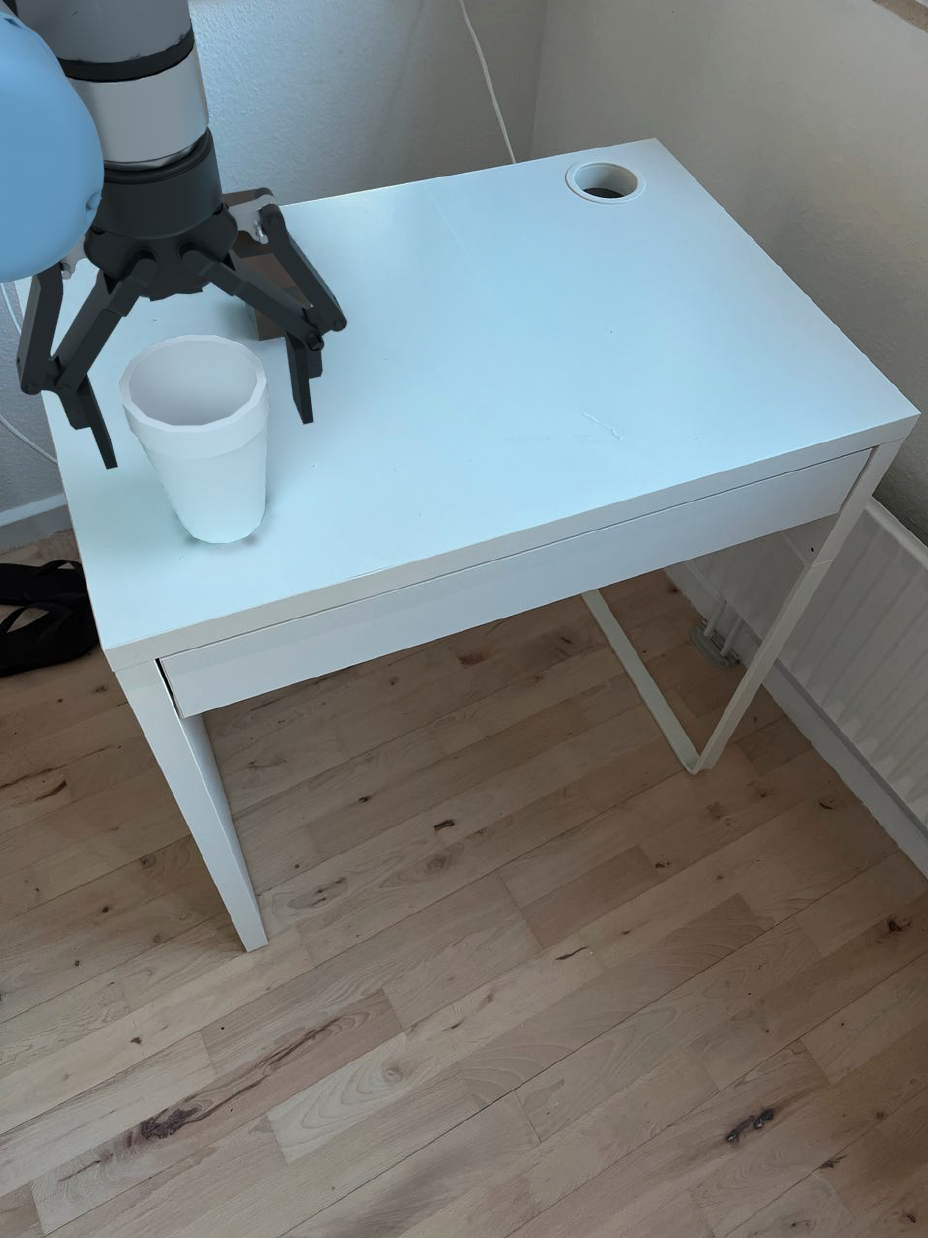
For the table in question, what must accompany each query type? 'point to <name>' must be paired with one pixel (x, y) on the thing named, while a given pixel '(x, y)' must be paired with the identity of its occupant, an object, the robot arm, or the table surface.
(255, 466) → the foam cup
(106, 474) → the table surface
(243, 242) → the walnut block far
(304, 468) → the table surface
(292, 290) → the walnut block near
